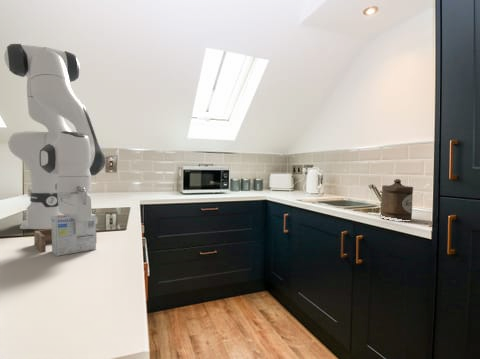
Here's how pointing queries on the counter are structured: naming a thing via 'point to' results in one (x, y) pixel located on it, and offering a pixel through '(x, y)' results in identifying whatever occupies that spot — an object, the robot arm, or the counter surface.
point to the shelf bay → (42, 239)
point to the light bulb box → (72, 235)
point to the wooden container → (397, 201)
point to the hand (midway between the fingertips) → (74, 231)
